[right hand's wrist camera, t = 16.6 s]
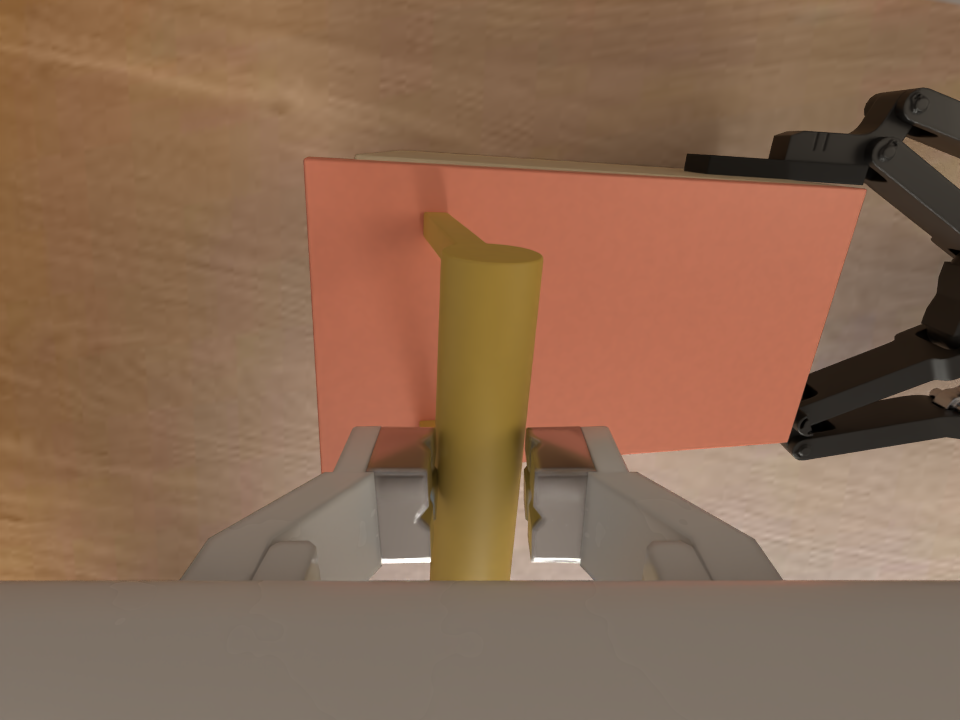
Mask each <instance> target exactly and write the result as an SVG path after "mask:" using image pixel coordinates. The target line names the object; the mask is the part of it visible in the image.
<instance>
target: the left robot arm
mask: <svg viewBox="0 0 960 720" xmlns="http://www.w3.org/2000/svg"><path fill="white" fill-rule="evenodd" d="M864 115H865V117H864V119H863V120H862V122H861V123H860V125H859V126H858V127H857V128H856V129H855V130H854V131H852V132H851V133H849V134H843V133H827V132H813V131H787V132H784V133H781V134H778V135H775V136H774V138H773V143H772V147H771V151H770V155H769V159H760V158H746V157H731V156H716V155H700V154H687V157H686V162H685V167H684V171H688V172H695V173H702V174H711V175H727V176H742V177H757V178H773V179H787V180H795V181H809V182H824V183H839V184H854V185H863V183H865V184H866V185H868V186H869V187H870V188H871V189H873V190H874V191H875V192H876V193H878V194H879V195H880V196H882V197H883V198H884V199H885V200H887V201H888V202H889V203H890V204H892V205H893V206H894V207H895V208H897V209H898V210H899V211H900V212H902V213H903V214H904V215H905V216H907V217H908V218H909V219H910V220H912V221H913V222H914V223H916V224H917V225H918V226H919V227H921V228H922V229H923V230H924V231H926V232H927V233H928V234H929V235H931V236H932V238H931V241H933V242H934V243H935V244H936V245H937V246H939V247H940V248H941V249H942V250H944V251H945V252H946V253H947V254H949V255H950V256H951V257H953V258H954V259H953V260H952V261H951V262H944V265H943V267H942V270H941V273H940V275H939V279H938V288H937V294H936V295H935V297H934V298H933V300H932V301H931V303H930V304H929V306H928V307H927V309H926V311H925V314H924V317H923V319H922V322H921V323H922V324H921V325H919V326H916V327H913V328H911V329H908V330H906V331H903V332H901V333H898V334H897V335H896V336H895V340H894V341H892V342H890V343H888V344H885V345H882V346H880V347H877V348H875V349H872V350H870V351H867V352H864V353H862V354H859V355H857V356H854V357H852V358H849V359H846V360H844V361H841V362H839V363H836V364H833V365H831V366H828V367H826V368H823V369H821V370H818V371H815V372H813V373H810V374H809V375H808V379H807V382H806V385H805V388H804V391H803V395H802V398H801V401H800V404H799V407H798V410H797V414H796V417H795V420H794V423H793V426H792V429H791V433H790V436H789V439H788V442H785V443H780V444H781V445H782V446H783V447H784V448H785V449H786V450H787V451H788V452H789V453H791V454H792V455H793V456H794V458H795V459H798V460H809V459H815V458H821V457H827V456H833V455H839V454H846V453H852V452H858V451H864V450H870V449H876V448H882V447H888V446H894V445H901V444H907V443H913V442H919V441H925V440H931V439H937V438H943V437H949V438H957V439H960V386H958V387H955V388H950V389H945V390H941V389H939V388H935V389H933V390H931V392H930V394H929V396H926V395H910V396H902V397H896V398H890V399H885V400H881V399H884V398H886V397H889V396H892V395H894V394H897V393H900V392H902V391H905V390H908V389H911V388H913V387H916V386H919V385H921V384H924V383H927V382H929V381H933V380H944V381H948V380H954V379H958V378H960V189H959V188H957V187H956V186H955V185H954V184H952V183H951V182H950V181H949V180H948V179H946V178H945V177H944V176H943V175H942V174H940V173H939V172H938V171H937V170H936V169H934V168H933V167H932V166H931V165H930V164H928V163H927V162H926V161H925V160H924V159H922V158H921V157H920V156H919V155H918V154H916V153H915V152H914V151H913V150H912V149H910V148H909V147H908V146H907V145H906V144H904V143H903V142H902V141H903V140H904V138H905V137H908V138H910V139H913V140H915V141H918V142H920V143H923V144H925V145H928V146H930V147H933V148H935V149H938V150H940V151H943V152H945V153H948V154H950V155H953V156H955V157H958V158H960V101H958V100H956V99H953V98H951V97H948V96H946V95H944V94H941V93H939V92H936V91H934V90H932V89H929V88H916V89H908V90H900V91H892V92H884V93H879V94H875V95H874V96H873V97H871V98H870V99H869V100H868V102H867V103H866V106H865V108H864ZM878 400H879V401H878Z"/></svg>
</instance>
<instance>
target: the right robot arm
mask: <svg viewBox="0 0 960 720" xmlns="http://www.w3.org/2000/svg"><path fill="white" fill-rule="evenodd" d="M436 452H437V442H436V429H435V427H388V426H383V427H381V426H356V427H354V428H353V429H352V431H351V433H350V435H349V438H348V440H347V442H346V444H345V446H344V449H343V451H342V453H341V455H340V457H339V460H338V462H337V464H336V466H335V468H334V471H333V472H324V473H322V474H321V475H319V476H317V477H315V478H314V479H312V480H310V481H308V482H307V483H305V484H303V485H301V486H300V487H298V488H296V489H294V490H293V491H291V492H289V493H287V494H286V495H284V496H282V497H280V498H279V499H277V500H275V501H273V502H272V503H270V504H268V505H266V506H265V507H263V508H261V509H259V510H258V511H256V512H254V513H252V514H251V515H249V516H247V517H245V518H244V519H242V520H240V521H238V522H237V523H235V524H233V525H231V526H230V527H228V528H226V529H224V530H223V531H221V532H219V533H217V534H216V535H214V536H212V537H210V538H209V539H208V540H207V541H206V543H205V544H204V546H203V547H202V549H201V550H200V552H199V553H198V554H197V556H196V557H195V559H194V560H193V562H192V563H191V565H190V566H189V567H188V569H187V570H186V572H185V573H184V575H183V576H182V577H181V579H180V580H179V581H0V720H960V580H783V579H782V578H781V576H780V575H779V573H778V572H777V571H776V569H775V568H774V566H773V565H772V563H771V562H770V560H769V559H768V558H767V556H766V555H765V553H764V552H763V550H762V549H761V548H760V546H759V545H758V543H757V542H756V540H755V539H753V538H752V537H750V536H748V535H746V534H745V533H743V532H741V531H739V530H738V529H736V528H734V527H732V526H731V525H729V524H727V523H725V522H724V521H722V520H720V519H718V518H717V517H715V516H713V515H711V514H710V513H708V512H706V511H704V510H703V509H701V508H699V507H697V506H696V505H694V504H692V503H690V502H689V501H687V500H685V499H683V498H682V497H680V496H678V495H676V494H675V493H673V492H671V491H669V490H668V489H666V488H664V487H662V486H661V485H659V484H657V483H655V482H654V481H652V480H650V479H648V478H647V477H645V476H643V475H641V474H640V473H638V472H629V471H628V468H627V466H626V464H625V462H624V460H623V458H622V456H621V453H620V451H619V449H618V447H617V445H616V443H615V441H614V439H613V436H612V434H611V432H610V430H609V428H608V427H606V426H587V427H580V426H569V427H527V428H526V434H525V454H526V462H527V466H526V468H525V469H524V508H525V518H526V520H527V521H528V542H529V549H530V557H531V562H551V563H580V566H581V567H582V568H583V569H584V570H585V571H586V572H587V573H588V574H589V575H590V576H591V577H592V579H593V580H594V581H368V580H369V579H370V578H371V577H372V576H373V575H374V574H375V572H376V571H377V570H378V569H379V568H380V567H381V566H382V564H381V563H409V562H431V556H432V548H433V540H434V520H435V519H436V514H437V500H438V469H437V468H436V467H435V460H436Z"/></svg>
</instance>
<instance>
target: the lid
mask: <svg viewBox="0 0 960 720" xmlns="http://www.w3.org/2000/svg"><path fill="white" fill-rule="evenodd" d="M304 178H305V195H306V213H307V230H308V248H309V265H310V282H311V300H312V317H313V335H314V352H315V370H316V387H317V404H318V422H319V439H320V457H321V474H322V473H324V472H333V471H334V468H335V466H336V464H337V462H338V460H339V457H340V455H341V453H342V451H343V449H344V446H345V444H346V442H347V440H348V438H349V435H350V433H351V431H352V429H353V428H354V427H356V426H381V427H383V426H388V427H435V429H436V442H437V452H436V460H435V467H436V468H437V469H438V500H437V514H436V519H435V520H434V540H433V548H432V556H431V563H430V581H510V573H511V563H512V554H513V544H514V535H515V526H516V516H517V507H518V497H519V488H520V478H521V469H522V462H526V454H525V434H526V428H527V427H569V426H580V427H587V426H606V427H608V428H609V430H610V432H611V434H612V436H613V439H614V441H615V443H616V445H617V447H618V449H619V451H620V453H621V455H624V454H638V453H651V452H665V451H678V450H691V449H705V448H718V447H731V446H745V445H758V444H771V443H785V442H788V439H789V436H790V433H791V429H792V426H793V423H794V420H795V417H796V414H797V410H798V407H799V404H800V401H801V398H802V395H803V391H804V388H805V385H806V382H807V379H808V375H809V372H810V369H811V366H812V363H813V360H814V356H815V353H816V350H817V347H818V344H819V341H820V337H821V334H822V331H823V328H824V325H825V321H826V318H827V315H828V312H829V309H830V306H831V302H832V299H833V296H834V293H835V290H836V287H837V283H838V280H839V277H840V274H841V271H842V268H843V264H844V261H845V258H846V255H847V252H848V248H849V245H850V242H851V239H852V236H853V233H854V229H855V226H856V223H857V220H858V217H859V214H860V210H861V207H862V204H863V201H864V198H865V195H866V191H867V190H866V189H862V188H853V187H843V186H829V185H811V184H793V183H775V182H757V181H739V180H720V179H702V178H684V177H666V176H648V175H630V174H612V173H594V172H576V171H558V170H540V169H522V168H504V167H486V166H468V165H450V164H432V163H413V162H395V161H377V160H359V159H341V158H323V157H307V158H305V159H304Z"/></svg>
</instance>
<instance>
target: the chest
mask: <svg viewBox="0 0 960 720" xmlns="http://www.w3.org/2000/svg"><path fill="white" fill-rule="evenodd" d="M355 159H359V160H377V161H395V162H413V163H432V164H450V165H468V166H486V167H504V168H522V169H540V170H558V171H576V172H594V173H612V174H630V175H648V176H666V177H684V178H702V179H720V180H739V181H757V182H775V183H793V184H811V185H828V184H820V183H812V182H803V181H795V180H787V179H773V178H757V177H742V176H727V175H711V174H702V173H695V172H688V171H684V169H683V168H668V167H653V166H637V165H622V164H607V163H592V162H576V161H561V160H546V159H531V158H515V157H500V156H485V155H470V154H454V153H439V152H424V151H409V150H398V151H387V152H377V153H366V154H357V155H355ZM829 186H836V185H829Z"/></svg>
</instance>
